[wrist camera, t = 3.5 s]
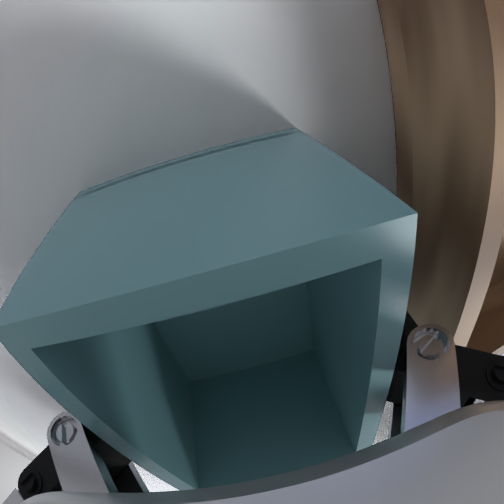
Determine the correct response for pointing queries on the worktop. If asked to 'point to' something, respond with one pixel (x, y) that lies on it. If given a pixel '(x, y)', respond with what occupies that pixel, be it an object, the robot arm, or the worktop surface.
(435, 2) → the big crate
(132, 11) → the worktop surface
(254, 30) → the worktop surface
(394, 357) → the small crate
